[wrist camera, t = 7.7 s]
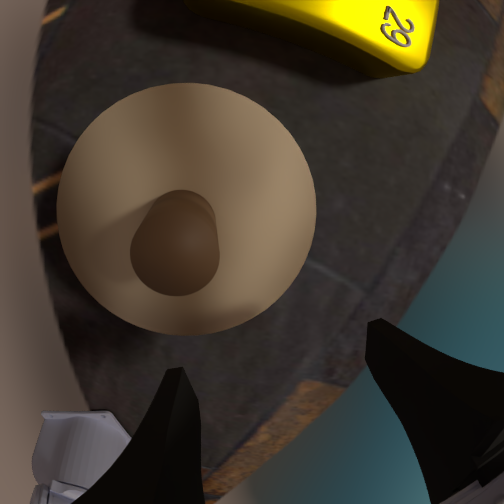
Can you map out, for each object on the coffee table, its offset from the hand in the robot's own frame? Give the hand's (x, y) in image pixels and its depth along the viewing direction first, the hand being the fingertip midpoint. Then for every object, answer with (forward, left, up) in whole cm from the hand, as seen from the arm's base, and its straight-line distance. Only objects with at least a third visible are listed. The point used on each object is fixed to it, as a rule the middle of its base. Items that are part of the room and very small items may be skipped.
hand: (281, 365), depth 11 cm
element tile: (+8, +20, -11) cm, 24 cm away
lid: (-3, +5, -5) cm, 8 cm away
